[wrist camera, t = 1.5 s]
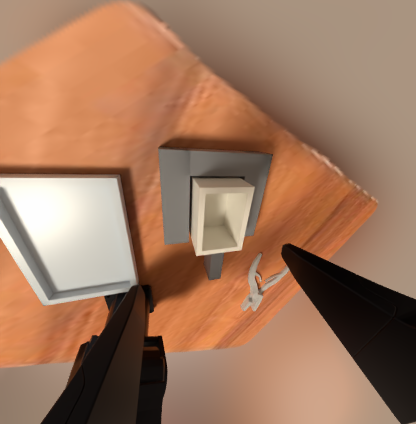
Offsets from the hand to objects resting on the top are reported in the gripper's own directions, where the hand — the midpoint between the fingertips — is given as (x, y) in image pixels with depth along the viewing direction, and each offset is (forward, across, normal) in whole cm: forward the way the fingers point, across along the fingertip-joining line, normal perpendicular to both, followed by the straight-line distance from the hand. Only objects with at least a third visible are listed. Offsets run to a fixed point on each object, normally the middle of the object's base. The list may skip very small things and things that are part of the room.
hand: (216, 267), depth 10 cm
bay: (+12, -3, +1) cm, 13 cm away
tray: (+12, +14, +4) cm, 19 cm away
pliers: (+12, -11, +23) cm, 29 cm away
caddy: (+12, -2, +5) cm, 13 cm away
